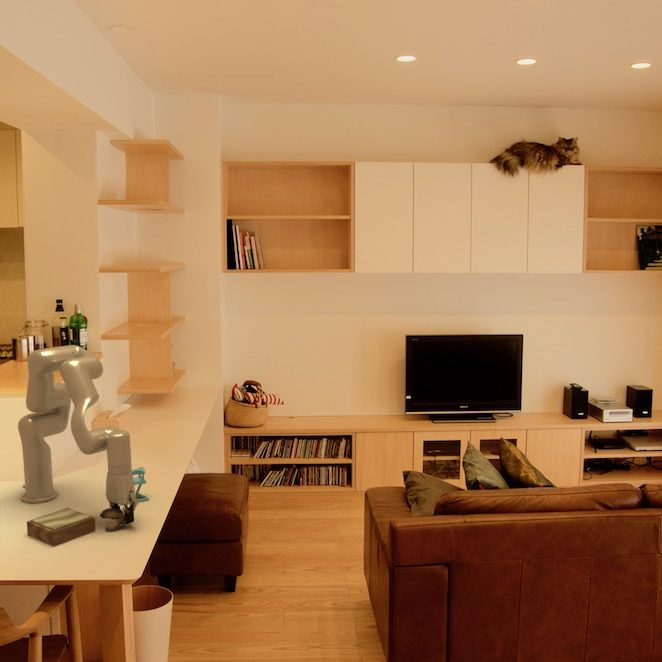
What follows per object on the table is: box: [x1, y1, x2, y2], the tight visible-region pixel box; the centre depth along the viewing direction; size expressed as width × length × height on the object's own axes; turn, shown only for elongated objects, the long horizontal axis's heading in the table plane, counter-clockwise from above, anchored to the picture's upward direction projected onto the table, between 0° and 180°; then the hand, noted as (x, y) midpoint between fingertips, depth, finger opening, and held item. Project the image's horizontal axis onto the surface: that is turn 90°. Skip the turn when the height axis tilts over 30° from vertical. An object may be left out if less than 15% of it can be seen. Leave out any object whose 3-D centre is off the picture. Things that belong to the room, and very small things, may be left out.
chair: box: [128, 466, 150, 503], centre depth 268 cm, size 8×8×12 cm
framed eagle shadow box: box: [26, 507, 96, 547], centre depth 239 cm, size 15×15×5 cm
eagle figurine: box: [99, 506, 126, 532], centre depth 243 cm, size 8×7×9 cm
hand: (122, 520), depth 245 cm, fingers closed on eagle figurine, 6 cm apart
